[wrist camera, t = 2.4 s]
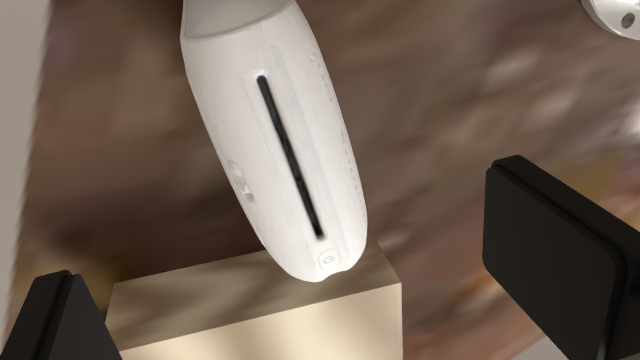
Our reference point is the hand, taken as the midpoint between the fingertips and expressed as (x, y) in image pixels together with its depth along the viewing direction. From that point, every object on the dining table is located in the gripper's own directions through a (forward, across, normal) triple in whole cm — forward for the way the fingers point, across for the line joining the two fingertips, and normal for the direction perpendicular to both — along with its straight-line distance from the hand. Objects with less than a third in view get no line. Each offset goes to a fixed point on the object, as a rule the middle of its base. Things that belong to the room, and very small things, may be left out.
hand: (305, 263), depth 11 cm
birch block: (+16, +2, +19) cm, 25 cm away
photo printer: (+16, -1, 0) cm, 16 cm away
